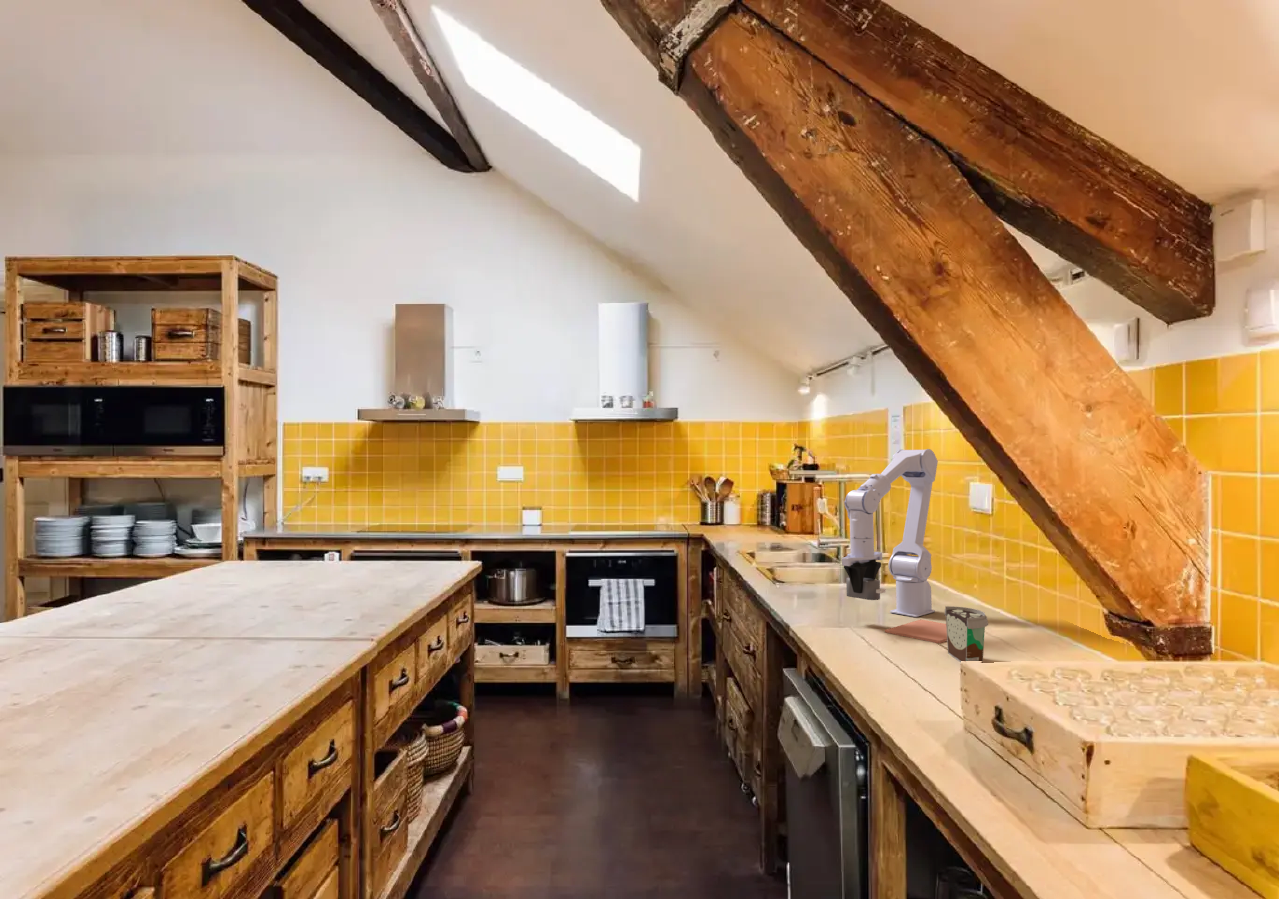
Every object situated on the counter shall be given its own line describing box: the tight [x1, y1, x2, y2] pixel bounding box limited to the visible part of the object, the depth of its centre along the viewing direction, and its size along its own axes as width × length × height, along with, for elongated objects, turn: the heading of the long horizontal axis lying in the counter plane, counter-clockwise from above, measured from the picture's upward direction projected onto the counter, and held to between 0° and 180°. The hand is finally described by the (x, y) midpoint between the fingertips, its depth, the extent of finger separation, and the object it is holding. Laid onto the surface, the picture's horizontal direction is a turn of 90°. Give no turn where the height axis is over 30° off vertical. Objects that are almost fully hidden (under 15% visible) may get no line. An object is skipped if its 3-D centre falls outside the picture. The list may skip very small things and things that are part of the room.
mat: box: [884, 619, 947, 644], centre depth 178 cm, size 16×14×1 cm
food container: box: [944, 605, 989, 663], centre depth 155 cm, size 12×6×10 cm, turn 179°
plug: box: [845, 576, 886, 601], centre depth 186 cm, size 4×10×4 cm, turn 39°
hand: (863, 591), depth 187 cm, fingers closed on plug, 4 cm apart
